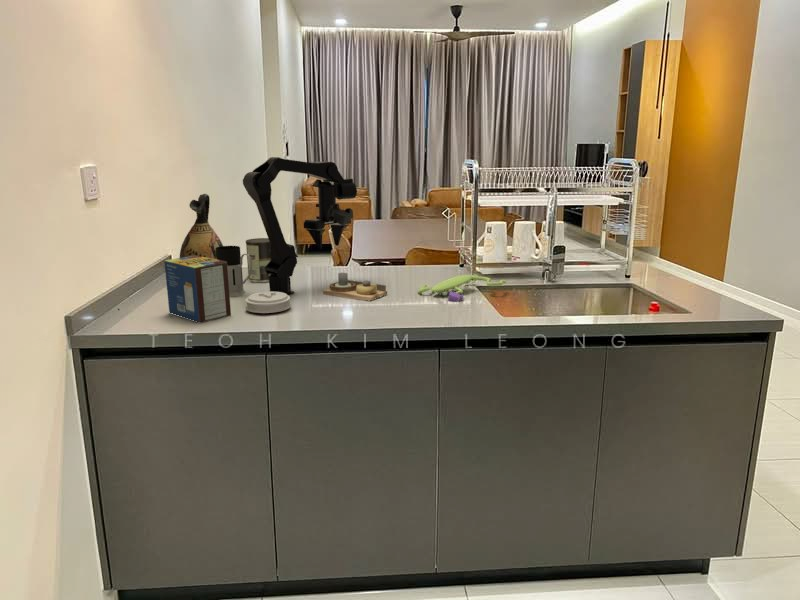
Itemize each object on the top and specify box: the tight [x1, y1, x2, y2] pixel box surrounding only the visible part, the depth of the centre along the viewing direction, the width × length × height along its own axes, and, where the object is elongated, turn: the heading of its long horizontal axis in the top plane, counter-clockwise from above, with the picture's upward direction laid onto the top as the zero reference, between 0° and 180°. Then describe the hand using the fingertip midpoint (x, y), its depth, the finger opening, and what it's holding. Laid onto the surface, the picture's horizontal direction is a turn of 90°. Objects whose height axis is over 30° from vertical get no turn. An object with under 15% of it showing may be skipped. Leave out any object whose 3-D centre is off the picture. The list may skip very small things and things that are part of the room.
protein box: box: [163, 255, 232, 323], centre depth 170 cm, size 10×15×16 cm
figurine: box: [417, 273, 507, 302], centre depth 196 cm, size 18×27×6 cm
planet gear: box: [335, 272, 351, 287], centre depth 196 cm, size 5×5×5 cm
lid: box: [245, 291, 291, 314], centre depth 176 cm, size 13×13×5 cm
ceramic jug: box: [179, 193, 224, 259], centre depth 212 cm, size 17×15×30 cm
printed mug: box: [245, 237, 271, 283], centre depth 214 cm, size 10×10×14 cm
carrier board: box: [322, 279, 388, 302], centre depth 194 cm, size 10×18×5 cm, turn 59°
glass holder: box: [216, 245, 252, 298], centre depth 192 cm, size 9×14×15 cm, turn 59°
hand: (328, 247), depth 204 cm, fingers open, 9 cm apart
